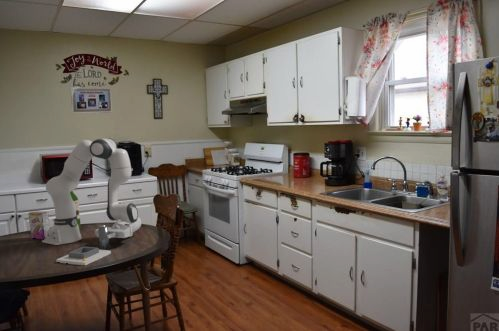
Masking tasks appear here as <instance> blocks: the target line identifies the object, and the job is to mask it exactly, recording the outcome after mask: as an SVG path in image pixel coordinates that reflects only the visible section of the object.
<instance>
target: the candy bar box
mask: <svg viewBox="0 0 499 331" xmlns="http://www.w3.org/2000/svg"><path fill="white" fill-rule="evenodd" d="M27 215H28V223H29V229H30V239H31V238H36V239H35V240H43V239H46V232H47V231H48V230H49V229H50V228H51V226H50V217H49V211H42V210H41V211H40V210H39V211H38V210H34V211H30V212H28V214H27Z"/></svg>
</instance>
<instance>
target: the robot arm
mask: <svg viewBox="0 0 499 331" xmlns="http://www.w3.org/2000/svg"><path fill="white" fill-rule="evenodd" d="M93 157H94V158H98V159H102V160H108V161H109V164H110V172H111V174H110V177H109V178H108V181H107V206H106V216H107V218H108V219H109V220H110V221H117V222H115V223H113V225H112V226H111V227H109V226H108V232H109V234H108V235H106V238H109V239H112V238H115V239H116V238H117V239H127V238H129V237H132V236H133V234H134V232H136V231H138V230H140V228H141V227H142V220H141V218H140V217H139V211H138V208H137V206H136V205H135V204H134V203H133V202H127V203H126V202H125V203H119V202H118V200H119V199H118V196H119V195H118V191H119V188H120V186H121V185H123V184H125V183H127V182H128V181H129V180H130V179H131V177H132V173H133V172H132V165H131V160H130V157H129V153H128V151H127V150H126V149H123V148H118V144H117V142H116V141H115V139H112V138H110V137H107V138H106V137H102V138H101V137H100V138H98V139H94V140H93V141H92V140H89V139H82V140H81V141H79V142H78V143H77V145H76V146H75V147H74V148H73V150H72V151H71V152H70V154H69V155H68V158H67V159H66V160H65V161H64V163H63V164H64V166H63V170H62V171H61V173H60V174H59V175H57V176H54V177H52V178H51V179H49V180H47V182H46V183H45V190H46V193H48V195H50V198H51V200H52V203H53V206H54V215H55V218H53V219H52V222H53V225H52V226H50V229H49V230H48V231H47V232H46V239H44V240H43V239H41V243H45V244H49V245H53V246H58V245H64V244H66V245H67V244H70V243H71V244H72V243H76V242H78V241H80V240H82V234H81V232H80V229H79V226H78V224H77V222H78V218H77V215H76V207H75V202H74V201H73V200H72V197H71V194H70V192H71V191H73V192H74V190H76V189H77V187H78V186H79V182H80V180H81V177H82V175H83V173H84V171H85V170H86V168H87V167H88V165H89V163H90V162H91V160H92V159H93ZM94 236H96V238H97V239H99V232H98V228H96V229H95V230H94Z"/></svg>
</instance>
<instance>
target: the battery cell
mask: <svg viewBox="0 0 499 331" xmlns="http://www.w3.org/2000/svg"><path fill="white" fill-rule="evenodd" d="M108 227H109V226H108V225H105V224H103V225H101V226H98V227H97V229H98V232H99V238H98V241H99V242H98V243H99V250H109V249H110V248H111V245H110V238H106V235H108V234H109V232H108Z"/></svg>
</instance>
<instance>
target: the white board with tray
mask: <svg viewBox="0 0 499 331" xmlns="http://www.w3.org/2000/svg"><path fill="white" fill-rule="evenodd" d="M110 254H112V251H111V250H109V249H107V250H100V247H92V246H81V247H79V248H77V249H73V250H72V251H70V252H68V254H66V255H64V256H62V257H59V258H57V259H56V261H55V262H56V263H57V262H60V263H59V264H66V263H68V264H69V265H78V266H84V265H85V266H87V265H90V264H91V263H93V262H96V261H99V260H100V259H103V258H104V257H106V256H109V255H110ZM68 264H67V265H68Z"/></svg>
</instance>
